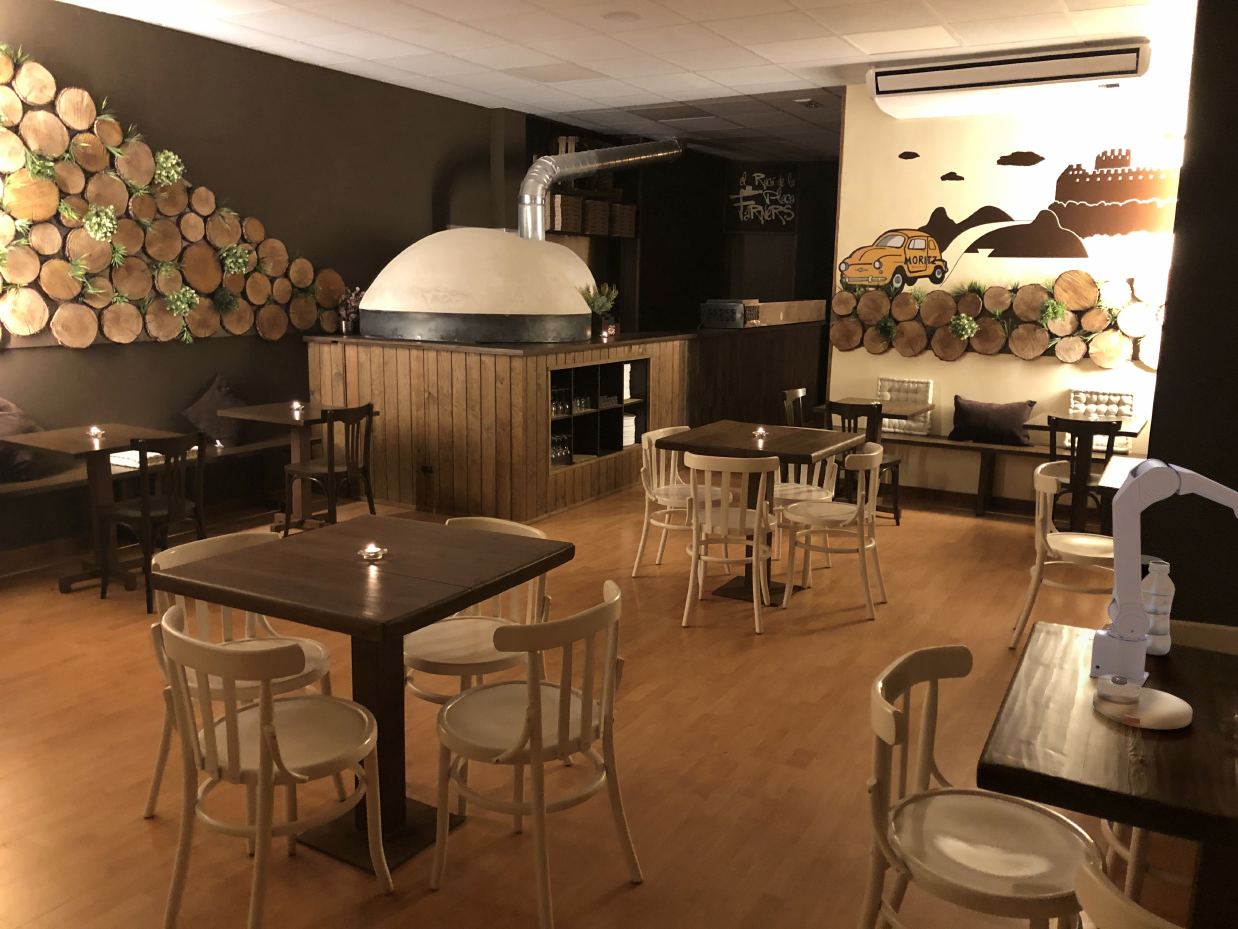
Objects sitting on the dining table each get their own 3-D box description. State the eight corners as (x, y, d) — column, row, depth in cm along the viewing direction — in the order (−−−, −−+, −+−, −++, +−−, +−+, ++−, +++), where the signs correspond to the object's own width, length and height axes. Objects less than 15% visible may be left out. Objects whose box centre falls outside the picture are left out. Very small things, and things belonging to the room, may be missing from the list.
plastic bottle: (1174, 659, 204) (1182, 568, 201) (1139, 657, 206) (1147, 566, 202) (1164, 649, 211) (1172, 559, 207) (1130, 647, 212) (1137, 558, 209)
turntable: (1082, 714, 176) (1083, 706, 176) (1103, 686, 189) (1104, 678, 188) (1183, 738, 166) (1184, 729, 166) (1198, 706, 179) (1199, 699, 179)
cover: (1092, 698, 179) (1094, 680, 179) (1101, 686, 185) (1103, 668, 184) (1134, 708, 175) (1136, 689, 174) (1142, 695, 180) (1144, 677, 180)
